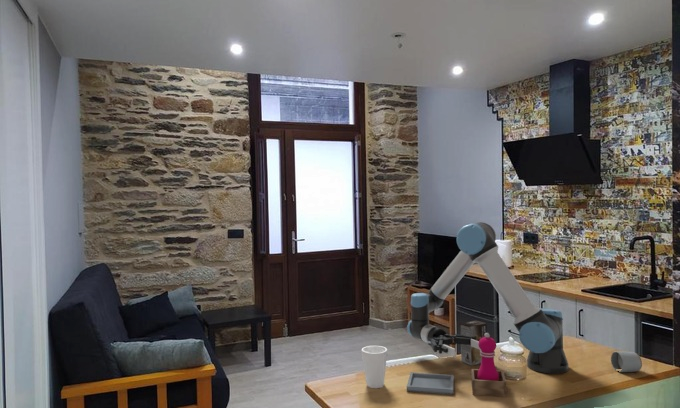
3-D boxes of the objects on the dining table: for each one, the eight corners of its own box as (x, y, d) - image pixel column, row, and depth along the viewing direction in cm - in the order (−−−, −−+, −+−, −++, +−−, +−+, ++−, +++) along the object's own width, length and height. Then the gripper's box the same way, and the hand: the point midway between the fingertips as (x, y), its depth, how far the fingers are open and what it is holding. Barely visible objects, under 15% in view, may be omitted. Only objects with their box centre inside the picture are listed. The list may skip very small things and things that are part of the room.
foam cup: (378, 391, 166) (378, 355, 166) (357, 386, 172) (356, 350, 172) (392, 383, 173) (391, 348, 173) (371, 378, 179) (370, 344, 179)
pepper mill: (473, 387, 168) (472, 331, 168) (490, 384, 170) (488, 329, 170) (486, 395, 161) (485, 336, 161) (503, 391, 163) (502, 334, 163)
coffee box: (477, 357, 199) (476, 319, 199) (488, 362, 194) (487, 323, 194) (460, 361, 195) (459, 322, 195) (471, 366, 189) (470, 326, 189)
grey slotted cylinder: (644, 374, 176) (643, 353, 176) (623, 375, 176) (622, 354, 176) (625, 365, 187) (624, 345, 187) (605, 366, 186) (604, 346, 186)
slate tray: (453, 379, 175) (453, 374, 175) (453, 394, 162) (453, 389, 162) (410, 376, 179) (410, 372, 179) (406, 391, 166) (406, 386, 166)
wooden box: (503, 384, 170) (503, 370, 170) (506, 397, 159) (506, 382, 159) (471, 382, 172) (471, 368, 172) (472, 394, 162) (472, 380, 162)
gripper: (458, 340, 199) (494, 354, 179) (409, 349, 188) (442, 365, 169) (457, 322, 199) (494, 334, 179) (408, 331, 188) (441, 344, 169)
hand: (469, 349), depth 174 cm, fingers open, 13 cm apart
